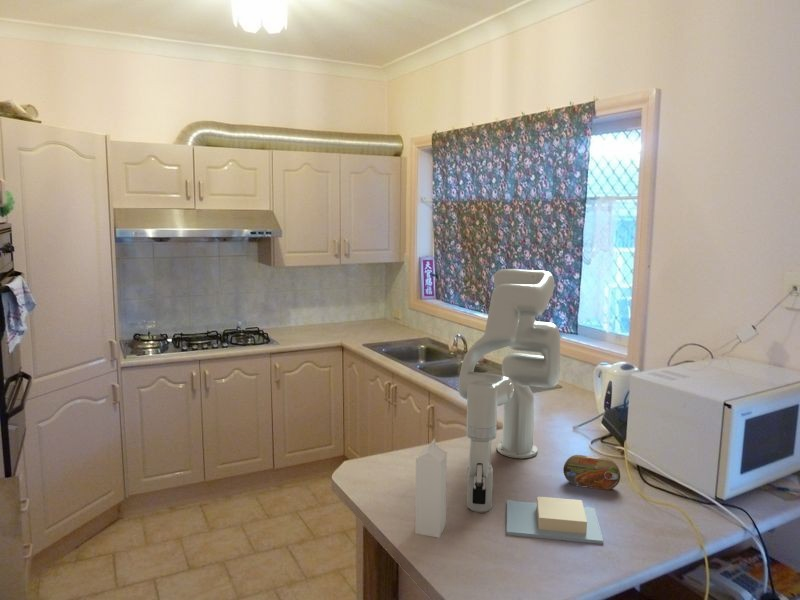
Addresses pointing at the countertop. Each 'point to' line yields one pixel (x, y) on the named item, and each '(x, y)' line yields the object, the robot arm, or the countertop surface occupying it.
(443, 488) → the milk
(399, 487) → the countertop surface
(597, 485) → the tin
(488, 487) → the beverage can
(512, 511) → the board
